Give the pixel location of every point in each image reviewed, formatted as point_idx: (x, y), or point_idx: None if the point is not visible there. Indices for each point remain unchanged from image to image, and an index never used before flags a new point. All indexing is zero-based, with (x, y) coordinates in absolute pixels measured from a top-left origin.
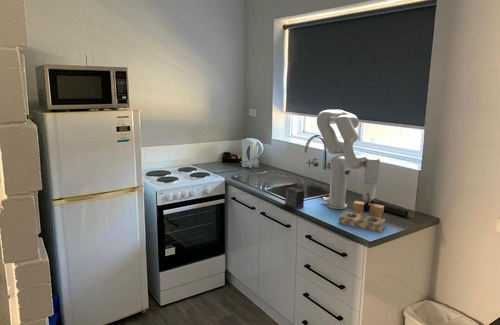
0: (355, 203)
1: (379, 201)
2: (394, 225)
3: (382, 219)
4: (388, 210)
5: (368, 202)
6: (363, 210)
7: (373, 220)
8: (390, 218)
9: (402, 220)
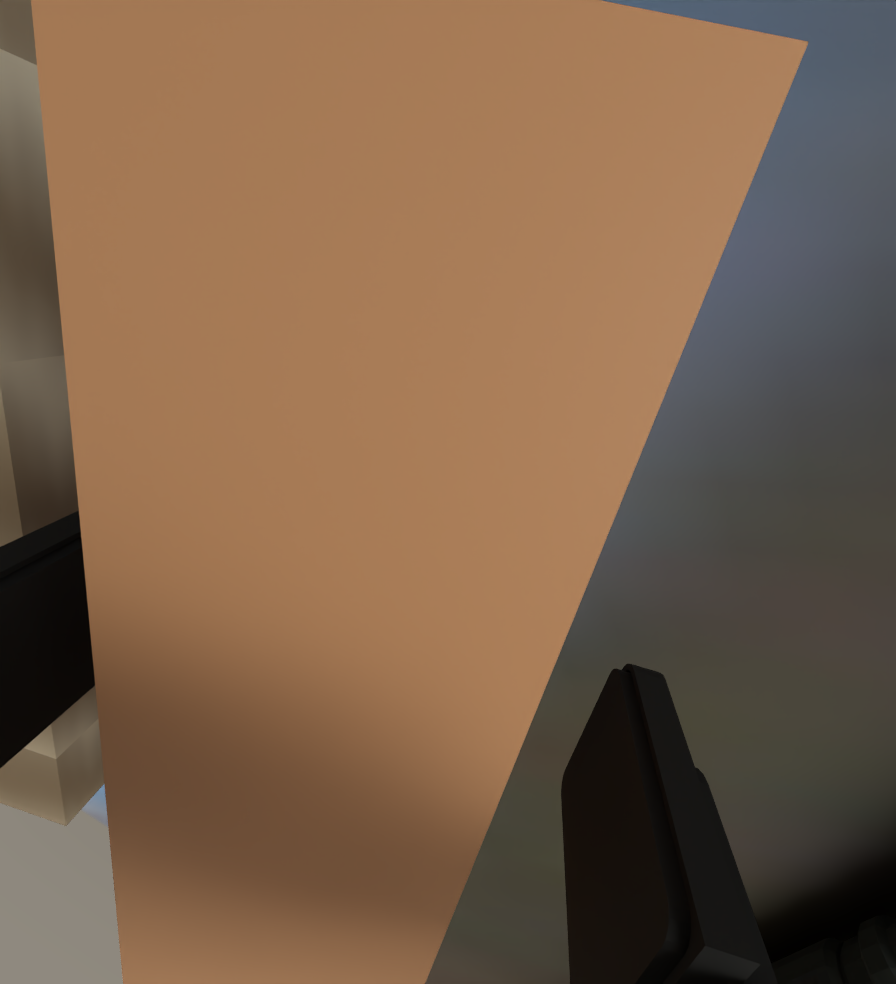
0: (51, 133)
1: None
2: None
3: (15, 785)
4: (866, 945)
5: (643, 836)
6: (77, 515)
7: None
8: (533, 850)
9: (500, 947)
